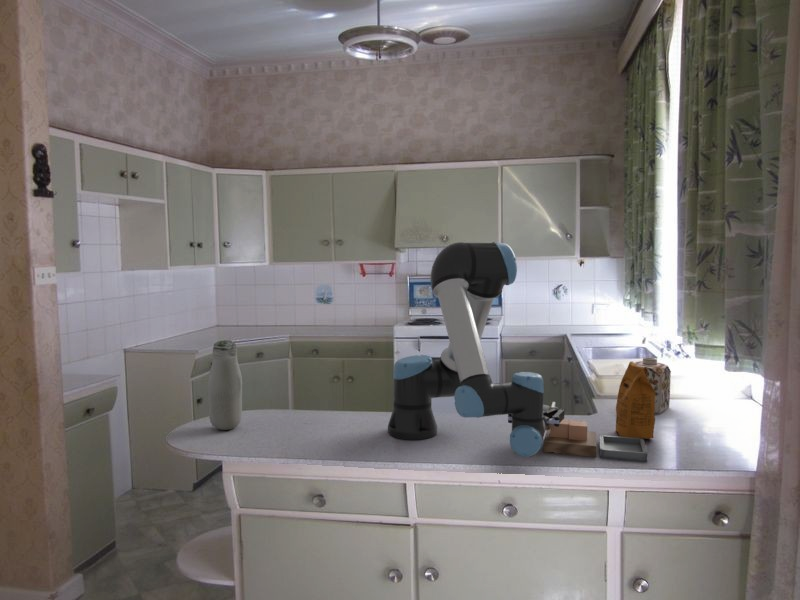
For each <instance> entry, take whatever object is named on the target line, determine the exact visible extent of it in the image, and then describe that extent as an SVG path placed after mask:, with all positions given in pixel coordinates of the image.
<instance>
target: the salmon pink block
mask: <svg viewBox="0 0 800 600" xmlns="http://www.w3.org/2000/svg"><path fill="white" fill-rule="evenodd" d="M569 421H570V419H565V418H564V419H563V420H562V421H561V422H560V423H559V427H556V426H554V425H552V424H551V423H550V437H560V438H568V437H569Z"/></svg>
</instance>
